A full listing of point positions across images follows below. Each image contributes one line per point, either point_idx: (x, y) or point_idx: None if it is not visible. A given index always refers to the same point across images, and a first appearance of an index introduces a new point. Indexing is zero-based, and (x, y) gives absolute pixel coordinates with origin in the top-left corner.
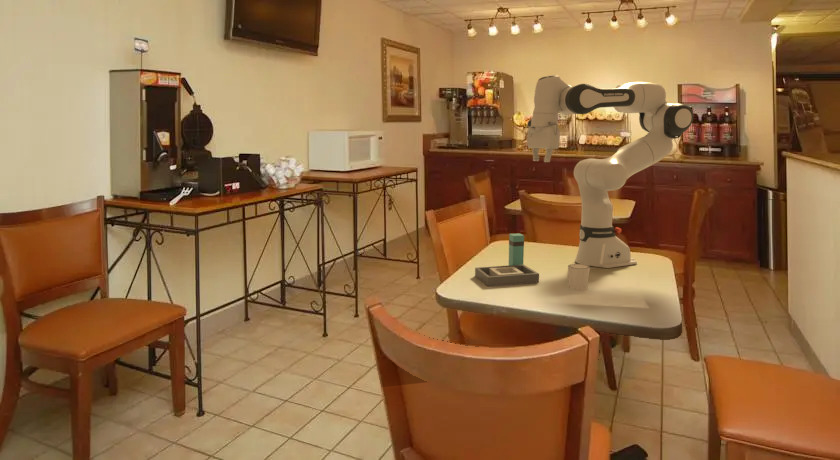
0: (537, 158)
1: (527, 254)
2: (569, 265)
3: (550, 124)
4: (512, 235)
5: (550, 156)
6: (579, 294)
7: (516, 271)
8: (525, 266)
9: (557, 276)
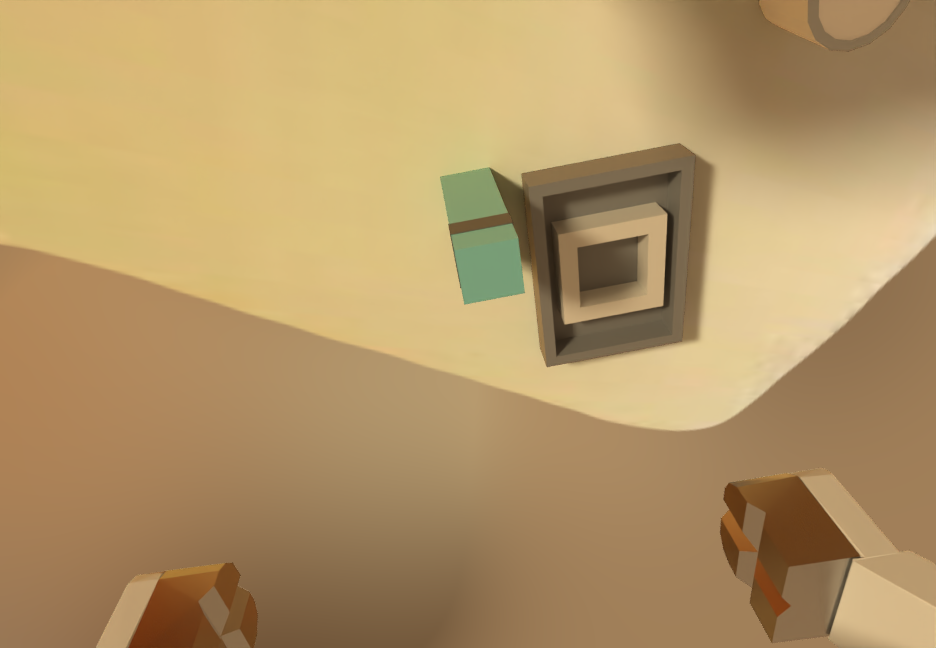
0: (219, 631)
1: (128, 63)
2: (828, 39)
3: None
4: (510, 295)
5: (933, 571)
6: None
7: (631, 236)
8: (566, 186)
9: (612, 27)
